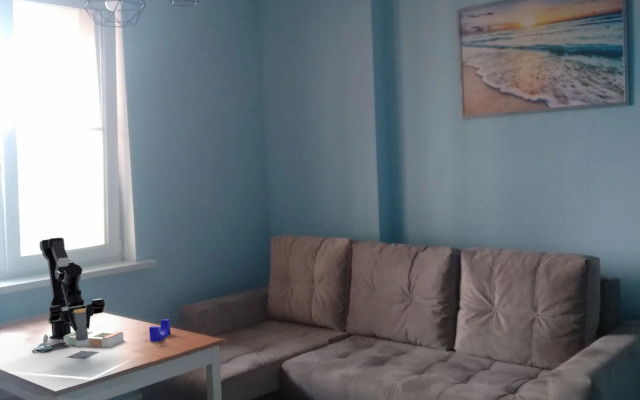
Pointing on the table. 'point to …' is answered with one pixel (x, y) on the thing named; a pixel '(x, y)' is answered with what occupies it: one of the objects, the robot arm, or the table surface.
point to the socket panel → (97, 338)
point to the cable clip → (160, 330)
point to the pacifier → (44, 345)
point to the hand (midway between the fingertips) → (82, 329)
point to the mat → (82, 354)
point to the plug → (81, 328)
